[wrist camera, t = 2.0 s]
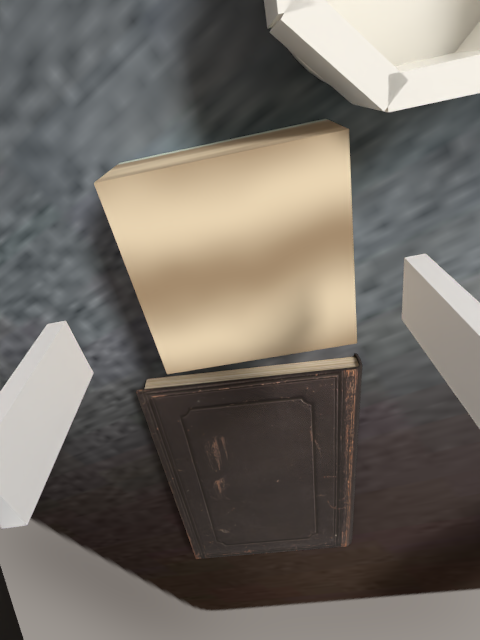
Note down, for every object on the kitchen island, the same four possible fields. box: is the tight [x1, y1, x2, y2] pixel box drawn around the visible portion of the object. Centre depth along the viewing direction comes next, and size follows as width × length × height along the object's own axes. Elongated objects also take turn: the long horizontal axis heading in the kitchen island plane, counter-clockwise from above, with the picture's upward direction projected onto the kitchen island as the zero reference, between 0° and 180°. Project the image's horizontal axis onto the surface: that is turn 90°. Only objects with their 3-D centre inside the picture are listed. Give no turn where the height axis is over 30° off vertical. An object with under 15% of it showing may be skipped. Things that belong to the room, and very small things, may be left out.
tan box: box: [94, 120, 357, 374], centre depth 21 cm, size 11×11×4 cm
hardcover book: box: [136, 354, 362, 559], centre depth 34 cm, size 16×23×2 cm
